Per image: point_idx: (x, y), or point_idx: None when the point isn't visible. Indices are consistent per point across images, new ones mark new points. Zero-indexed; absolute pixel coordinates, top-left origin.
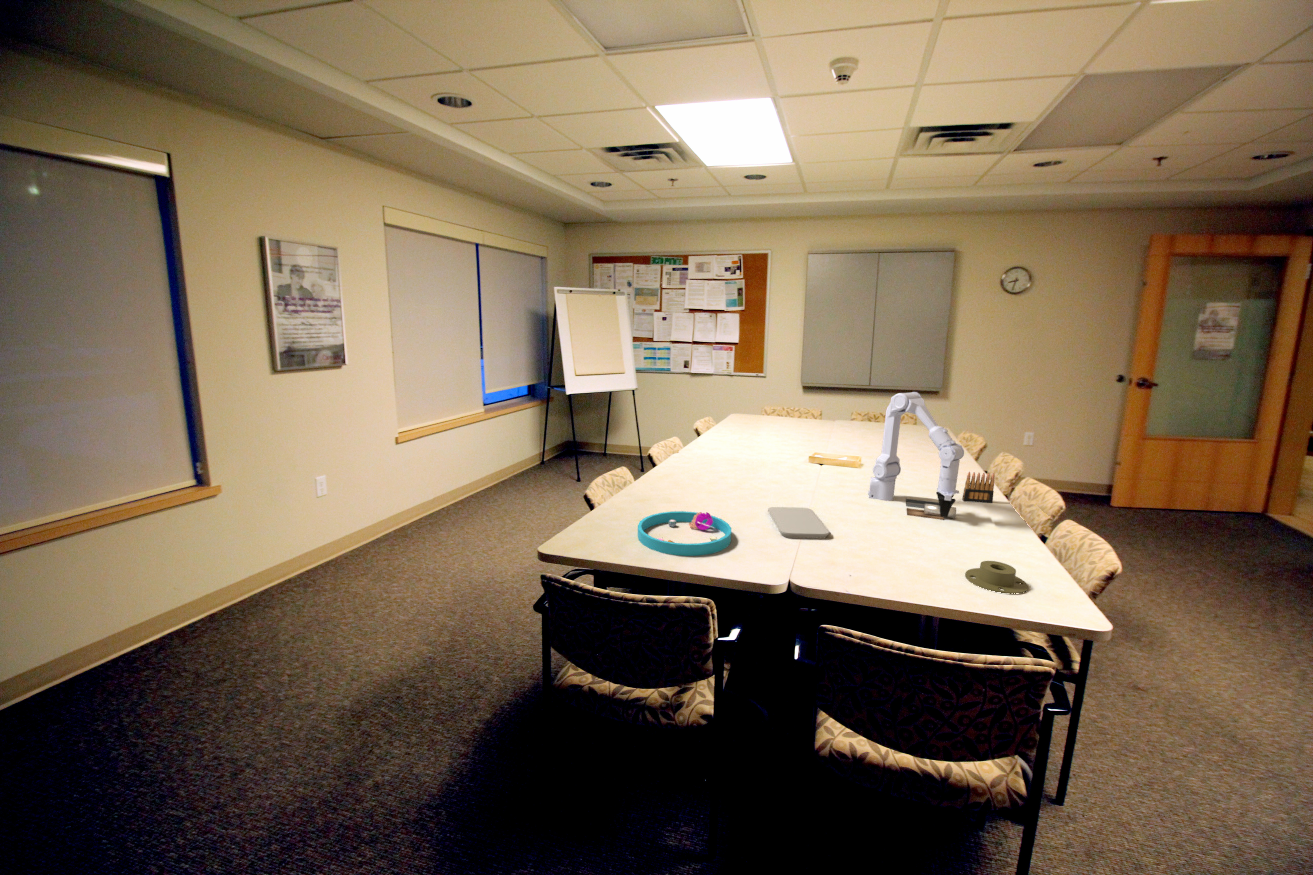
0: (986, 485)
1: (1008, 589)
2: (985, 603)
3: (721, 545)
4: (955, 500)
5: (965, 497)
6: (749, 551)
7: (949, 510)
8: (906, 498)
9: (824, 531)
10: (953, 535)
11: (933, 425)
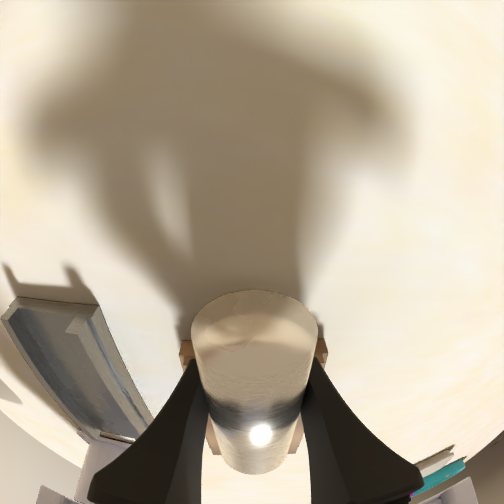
0: None
1: None
2: None
3: (458, 464)
4: (412, 484)
5: None
6: (465, 453)
7: (341, 398)
8: (92, 438)
9: (445, 459)
10: (498, 287)
11: None
